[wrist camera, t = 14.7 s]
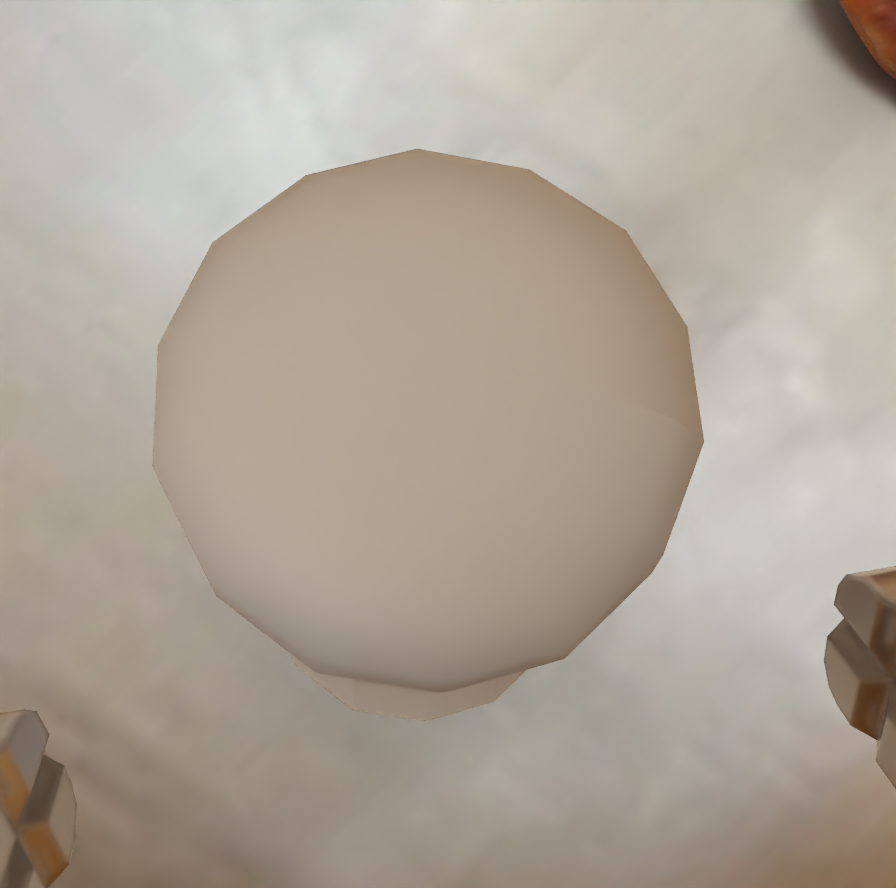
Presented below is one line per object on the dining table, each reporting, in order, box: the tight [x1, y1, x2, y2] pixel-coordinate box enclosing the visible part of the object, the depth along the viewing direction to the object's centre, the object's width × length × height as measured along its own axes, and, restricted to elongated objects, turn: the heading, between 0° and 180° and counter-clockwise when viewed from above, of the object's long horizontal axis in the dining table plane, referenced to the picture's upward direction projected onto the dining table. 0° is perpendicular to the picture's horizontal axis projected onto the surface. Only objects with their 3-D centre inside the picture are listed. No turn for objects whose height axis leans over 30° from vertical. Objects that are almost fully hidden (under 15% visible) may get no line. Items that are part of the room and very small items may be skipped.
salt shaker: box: [153, 149, 704, 721], centre depth 12 cm, size 6×6×13 cm
